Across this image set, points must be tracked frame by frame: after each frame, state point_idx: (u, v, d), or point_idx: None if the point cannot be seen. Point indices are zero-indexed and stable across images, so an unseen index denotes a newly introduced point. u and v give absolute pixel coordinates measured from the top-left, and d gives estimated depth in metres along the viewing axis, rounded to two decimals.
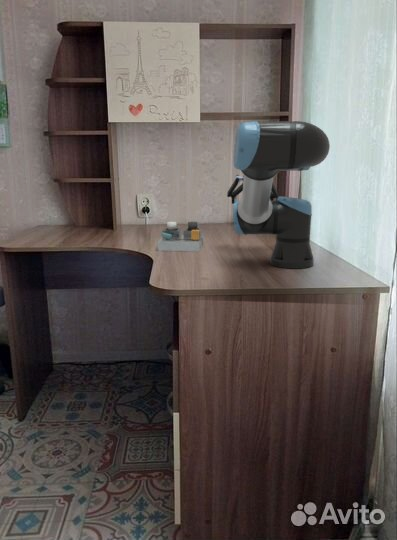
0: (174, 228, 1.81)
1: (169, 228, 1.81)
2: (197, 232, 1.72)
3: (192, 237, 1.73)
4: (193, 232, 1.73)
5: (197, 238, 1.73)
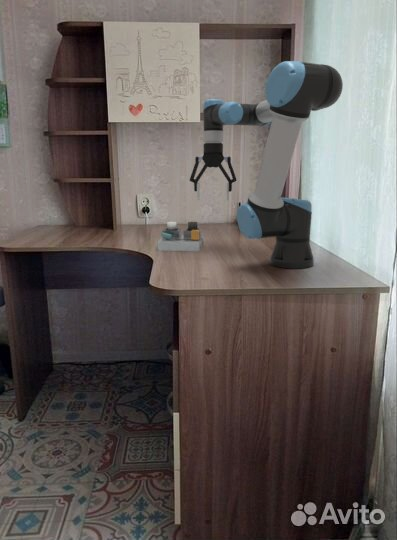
0: (174, 228, 1.81)
1: (169, 228, 1.81)
2: (197, 232, 1.72)
3: (192, 237, 1.73)
4: (193, 232, 1.73)
5: (197, 238, 1.73)
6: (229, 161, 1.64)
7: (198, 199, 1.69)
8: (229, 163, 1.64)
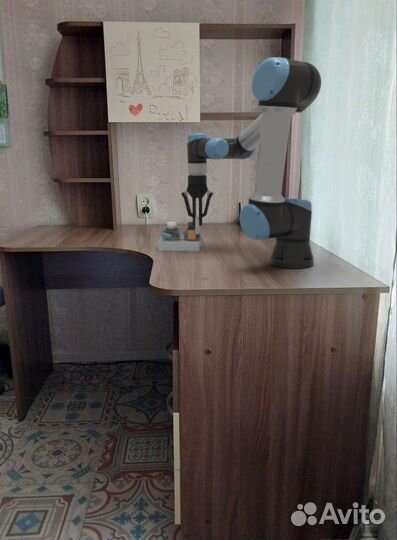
0: (174, 228, 1.81)
1: (169, 228, 1.81)
2: (194, 232, 1.73)
3: (189, 237, 1.73)
4: (190, 232, 1.73)
5: (194, 238, 1.73)
6: (209, 197, 1.69)
7: (196, 233, 1.73)
8: (208, 198, 1.69)
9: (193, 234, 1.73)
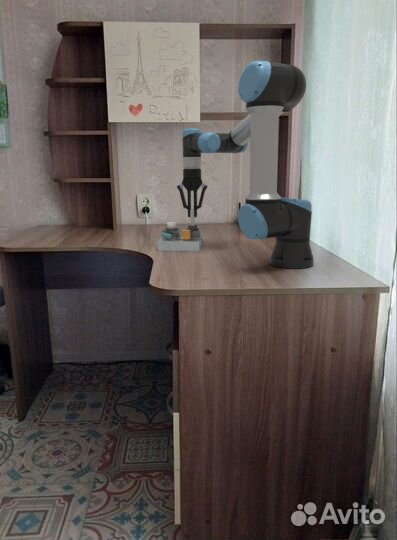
0: (174, 228, 1.81)
1: (169, 228, 1.81)
2: (188, 232, 1.73)
3: (183, 237, 1.74)
4: (184, 232, 1.73)
5: (188, 238, 1.73)
6: (204, 189, 1.76)
7: (191, 224, 1.80)
8: (203, 191, 1.76)
9: (187, 234, 1.73)
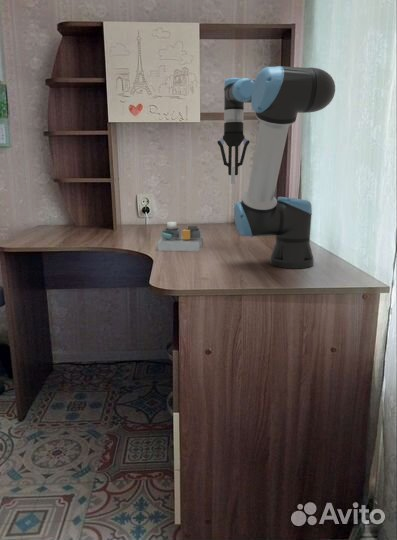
0: (174, 228, 1.81)
1: (169, 228, 1.81)
2: (188, 232, 1.73)
3: (183, 237, 1.74)
4: (184, 232, 1.73)
5: (188, 238, 1.73)
6: (246, 145, 1.66)
7: (232, 183, 1.70)
8: (245, 146, 1.66)
9: (187, 234, 1.73)
